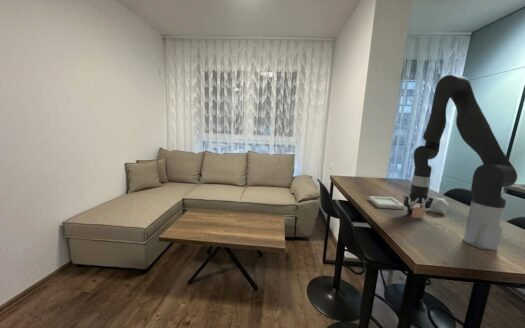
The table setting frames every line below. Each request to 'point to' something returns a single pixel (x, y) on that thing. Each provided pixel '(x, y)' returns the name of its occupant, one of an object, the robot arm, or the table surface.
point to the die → (439, 205)
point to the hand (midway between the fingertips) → (415, 215)
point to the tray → (386, 202)
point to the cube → (417, 212)
